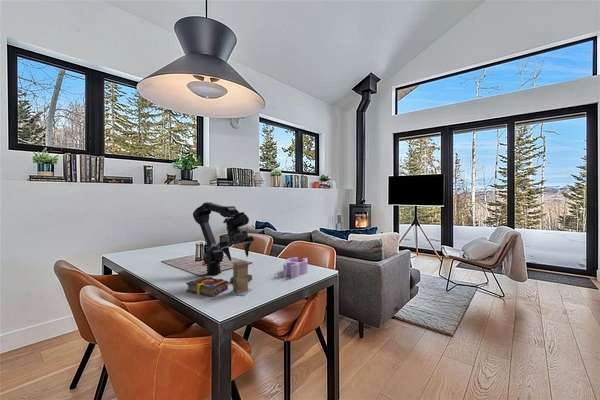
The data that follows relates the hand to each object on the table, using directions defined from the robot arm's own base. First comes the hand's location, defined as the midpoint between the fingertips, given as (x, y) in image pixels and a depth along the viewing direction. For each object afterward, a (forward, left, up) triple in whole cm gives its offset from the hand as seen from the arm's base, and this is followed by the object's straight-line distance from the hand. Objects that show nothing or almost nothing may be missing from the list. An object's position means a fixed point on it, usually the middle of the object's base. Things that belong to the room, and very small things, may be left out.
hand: (239, 258), depth 141 cm
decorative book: (-6, -17, -12) cm, 22 cm away
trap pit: (+2, 0, -11) cm, 12 cm away
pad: (+9, -14, -11) cm, 20 cm away
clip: (+24, +22, -12) cm, 35 cm away
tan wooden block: (+9, -14, -11) cm, 20 cm away
